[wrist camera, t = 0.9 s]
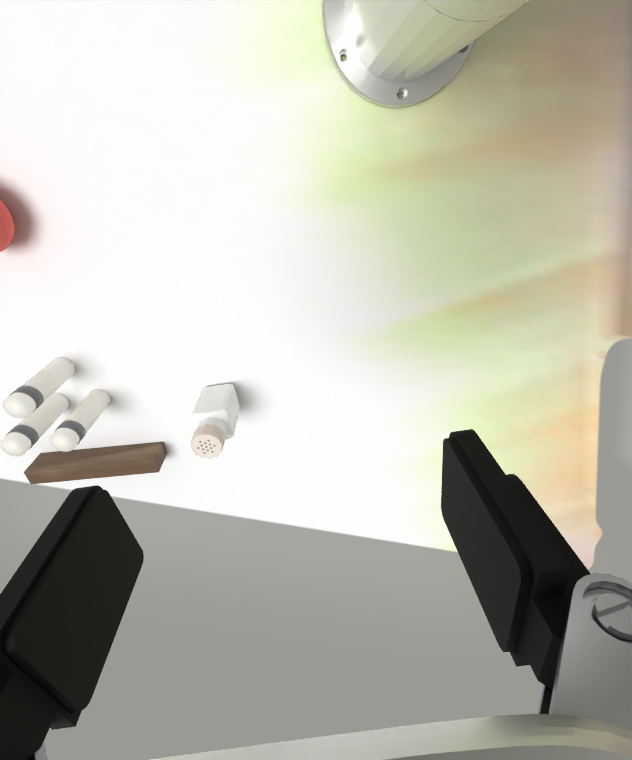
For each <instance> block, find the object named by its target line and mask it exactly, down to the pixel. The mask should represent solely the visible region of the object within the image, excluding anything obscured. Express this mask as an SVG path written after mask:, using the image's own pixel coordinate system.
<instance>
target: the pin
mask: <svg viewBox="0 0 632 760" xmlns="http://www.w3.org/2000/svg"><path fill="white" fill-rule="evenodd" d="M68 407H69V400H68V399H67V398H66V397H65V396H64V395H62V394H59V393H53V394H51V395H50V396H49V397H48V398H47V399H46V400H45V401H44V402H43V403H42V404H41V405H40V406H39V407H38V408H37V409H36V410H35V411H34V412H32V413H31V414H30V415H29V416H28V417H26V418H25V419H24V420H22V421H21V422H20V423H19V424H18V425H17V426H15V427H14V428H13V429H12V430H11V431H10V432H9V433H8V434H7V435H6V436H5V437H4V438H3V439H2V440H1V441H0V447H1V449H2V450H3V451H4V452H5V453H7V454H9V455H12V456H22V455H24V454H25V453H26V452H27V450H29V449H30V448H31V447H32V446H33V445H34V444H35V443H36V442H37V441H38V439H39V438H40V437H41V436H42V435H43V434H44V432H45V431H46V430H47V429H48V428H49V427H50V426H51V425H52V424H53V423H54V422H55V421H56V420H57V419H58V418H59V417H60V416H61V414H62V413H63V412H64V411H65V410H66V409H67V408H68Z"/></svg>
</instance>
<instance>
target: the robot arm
mask: <svg viewBox="0 0 632 760" xmlns="http://www.w3.org/2000/svg"><path fill="white" fill-rule="evenodd" d="M528 1H529V0H322V17H323V28H324V33H325V38H326V44H327V47H328V50H329V52H330V55H331V58H332V61H333V63H334V65H335V66H336V68H337V70H338V72H339V74H340V75H341V77H342V78H343V79H344V81H345V82H346V83H347V84H348V85H349V87H350V88H351V89H352V90H353V91H355V92H356V93H357V94H358V95H360V96H361V97H362V98H364V99H366V100H368V101H370V102H372V103H374V104H377V105H381V106H386V107H404V106H408V105H412V104H416V103H418V102H420V101H422V100H424V99H426V98H428V97H430V96H431V95H433V94H434V93H436V92H437V91H439V90H440V89H441V88H442V87H443V86H445V85H446V84H447V83H448V82H449V81H450V80H451V79H452V78H453V77H454V75H455V74H456V73H457V72H458V70H459V69H460V68H461V66H462V65H463V64H464V62H465V60H466V59H467V57H468V55H469V53H470V52H471V50H472V48H473V45H474V43H475V40H476V39H477V38H478V37H479V36H481V35H482V34H484V33H485V32H486V31H488V30H489V29H491V28H492V27H494V26H495V25H496V24H498V23H499V22H501V21H502V20H503V19H505V18H506V17H508V16H509V15H510V14H512V13H513V12H515V11H516V10H517V9H519V8H520V7H522V6H523V5H524V4H525V3H527V2H528ZM460 50H461V52H459V51H460ZM341 55H345V56H346V61H345V62H342V61H341V59H340V56H341ZM399 92H401V93H402V98H401V99H399V98H398V96H397V95H398V93H399ZM441 510H442V515H443V518H444V521H445V523H446V525H447V528H448V530H449V532H450V535H451V537H452V539H453V541H454V544H455V546H456V548H457V551H458V553H459V555H460V558H461V560H462V562H463V564H464V567H465V569H466V571H467V574H468V576H469V578H470V580H471V583H472V585H473V587H474V589H475V592H476V594H477V596H478V599H479V601H480V603H481V606H482V608H483V610H484V612H485V615H486V617H487V619H488V622H489V624H490V626H491V629H492V630H493V633H494V635H495V638H496V640H497V642H498V644H499V646H500V648H501V649H502V651H503V652H509V651H510V653H511V656H512V658H513V660H514V662H515V664H516V666H523V665H531V667H532V670H533V672H534V674H535V676H536V678H537V680H538V681H539V682H541V683H542V684H543V689H542V694H541V699H540V705H539V709H538V714H527V715H508V716H507V715H506V716H505V715H504V716H492V717H482V718H473V719H464V720H455V721H445V722H437V723H436V722H435V723H426V724H417V725H410V726H402V727H394V728H386V729H379V730H370V731H362V732H355V733H347V734H339V735H331V736H323V737H316V738H308V739H300V740H292V741H285V742H277V743H270V744H262V745H255V746H247V747H239V748H232V749H224V750H217V751H210V752H202V753H195V754H187V755H180V756H172V757H165V758H157V759H151V760H632V583H630V582H628V581H626V580H624V579H622V578H619V577H616V576H612V575H609V574H596V573H595V574H590V573H589V571H588V570H587V568H586V567H585V566H584V564H583V563H582V562H581V560H580V559H579V558H578V556H577V555H576V554H575V552H574V551H573V550H572V548H571V547H570V546H569V544H568V543H567V541H566V540H565V539H564V537H563V536H562V535H561V533H560V532H559V531H558V529H557V528H556V527H555V525H554V524H553V523H552V521H551V520H550V519H549V517H548V516H547V515H546V513H545V512H544V510H543V509H542V508H541V506H540V505H539V504H538V502H537V501H536V500H535V498H534V497H533V496H532V494H531V493H530V492H529V490H528V489H527V488H526V486H525V485H524V484H523V482H522V481H521V480H520V479H519V478H518V477H517V476H516V475H514V474H508V475H505V473H504V472H503V470H502V469H501V468H500V466H499V465H498V463H497V462H496V460H495V459H494V458H493V456H492V455H491V453H490V452H489V451H488V449H487V448H486V446H485V445H484V443H483V442H482V441H481V439H480V438H479V436H478V435H477V433H476V432H475V431H474V430H472V429H470V430H463V431H456V432H451V433H450V436H449V438H446V439H444V441H443V465H442V496H441ZM142 563H143V551H142V549H141V547H140V545H139V544H138V542H137V540H136V539H135V537H134V535H133V533H132V532H131V530H130V528H129V527H128V525H127V523H126V522H125V520H124V518H123V516H122V515H121V513H120V511H119V510H118V508H117V506H116V505H115V503H114V501H113V499H112V498H111V496H110V494H109V493H108V491H106V490H103V489H102V488H101V487H100V486H90V487H83V488H76V489H74V490H73V491H72V492H71V493H70V494H69V495H68V497H67V498H66V500H65V502H64V503H63V504H62V506H61V507H60V509H59V510H58V511H57V513H56V514H55V516H54V517H53V519H52V520H51V522H50V523H49V524H48V526H47V528H46V529H45V530H44V532H43V533H42V535H41V536H40V538H39V539H38V540H37V542H36V543H35V545H34V546H33V548H32V549H31V551H30V552H29V554H28V555H27V556H26V558H25V559H24V561H23V562H22V564H21V565H20V567H19V568H18V569H17V571H16V572H15V574H14V575H13V577H12V578H11V580H10V581H9V583H8V584H7V585H6V587H5V588H4V590H3V591H2V593H1V594H0V760H47V755H46V750H45V745H44V739H45V737H46V734H47V732H48V730H49V728H51V729H60V728H68V727H75V726H76V724H77V721H78V719H79V716H80V714H81V711H82V710H83V709H84V708H85V707H86V706H87V705H88V704H89V702H90V700H91V698H92V695H93V693H94V690H95V687H96V685H97V682H98V679H99V677H100V674H101V672H102V669H103V666H104V664H105V661H106V658H107V656H108V653H109V651H110V648H111V645H112V643H113V640H114V637H115V635H116V632H117V629H118V626H119V624H120V622H121V619H122V616H123V614H124V611H125V609H126V606H127V603H128V601H129V598H130V595H131V593H132V590H133V588H134V585H135V582H136V580H137V577H138V574H139V572H140V569H141V566H142Z"/></svg>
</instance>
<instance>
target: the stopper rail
mask: <svg viewBox="0 0 632 760" xmlns="http://www.w3.org/2000/svg"><path fill="white" fill-rule="evenodd" d="M166 454H167V453H166V450H165V447H164V444H163V442H157V443H146V444H136V445H125V446H114V447H104V448H93V449H82V450H72V451H68V452H63V451H61V452H50V453H40V455H39V456H38V457H37V458H36V459H35V460H34V461H33V462H32V464H31V465H30V466H29V467H28V468H27V469H26V470H25V472H24V474H25V475H26V477H27V478H28V480H29V482H30V483H31V484H38V483H49V482H59V481H70V480H81V479H91V478H102V477H112V476H123V475H133V474H144V473H155V472H159V470H160V468H161V466H162V464H163V461H164V459H165V457H166Z"/></svg>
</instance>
